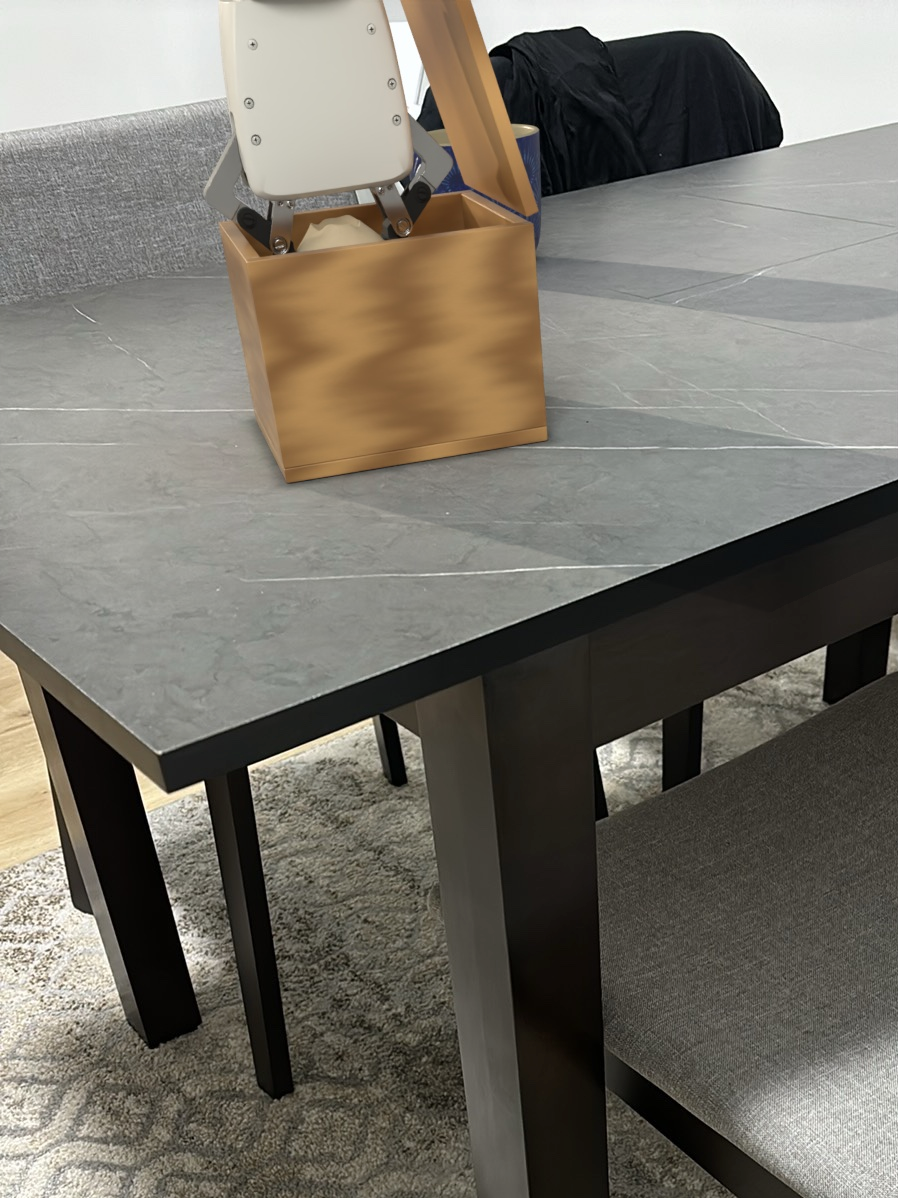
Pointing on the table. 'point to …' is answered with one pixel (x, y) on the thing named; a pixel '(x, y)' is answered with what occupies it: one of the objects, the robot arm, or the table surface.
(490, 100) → the lid
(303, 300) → the chest
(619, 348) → the table surface
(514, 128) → the planter
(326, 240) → the candle
